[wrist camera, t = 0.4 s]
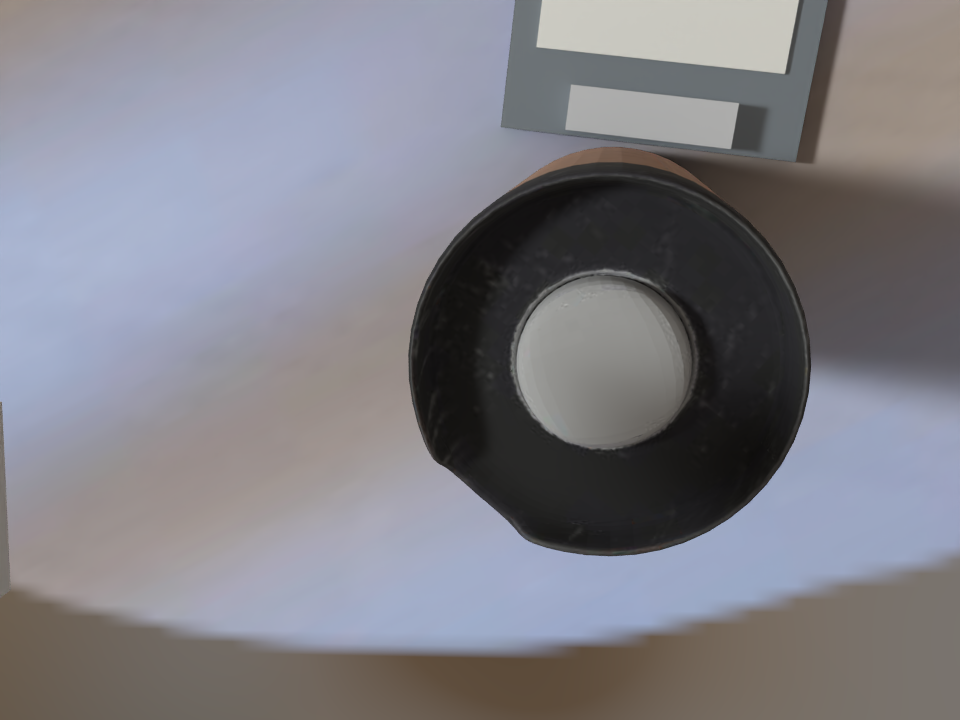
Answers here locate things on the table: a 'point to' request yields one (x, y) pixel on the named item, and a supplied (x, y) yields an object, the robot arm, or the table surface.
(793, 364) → the travel mug
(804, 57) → the clipboard
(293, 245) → the table surface
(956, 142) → the table surface
